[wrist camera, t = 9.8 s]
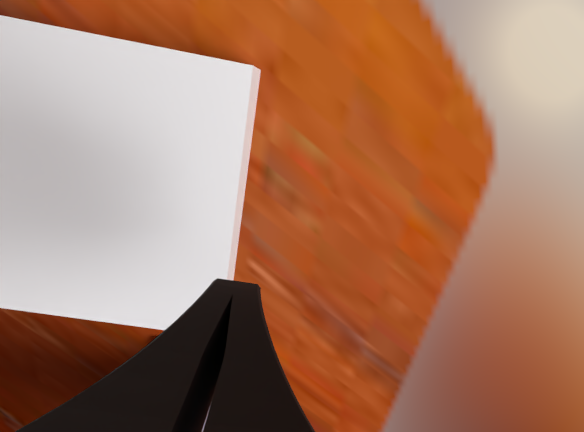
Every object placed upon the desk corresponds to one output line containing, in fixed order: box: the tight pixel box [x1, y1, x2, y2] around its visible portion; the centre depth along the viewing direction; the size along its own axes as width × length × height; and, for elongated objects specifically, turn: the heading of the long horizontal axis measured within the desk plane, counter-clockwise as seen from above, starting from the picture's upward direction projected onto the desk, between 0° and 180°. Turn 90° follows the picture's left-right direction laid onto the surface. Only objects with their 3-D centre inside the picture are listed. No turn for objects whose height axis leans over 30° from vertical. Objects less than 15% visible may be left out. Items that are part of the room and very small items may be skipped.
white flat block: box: [0, 15, 261, 330], centre depth 16 cm, size 14×12×4 cm
